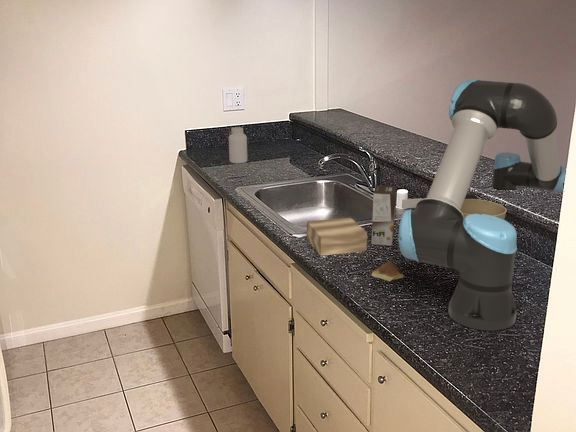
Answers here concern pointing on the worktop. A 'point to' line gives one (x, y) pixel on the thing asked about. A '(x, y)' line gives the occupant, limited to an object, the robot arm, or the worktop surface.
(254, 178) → the worktop surface
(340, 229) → the maple block
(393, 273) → the shard
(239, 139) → the pill bottle
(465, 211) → the plant pot
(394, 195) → the coffee box
